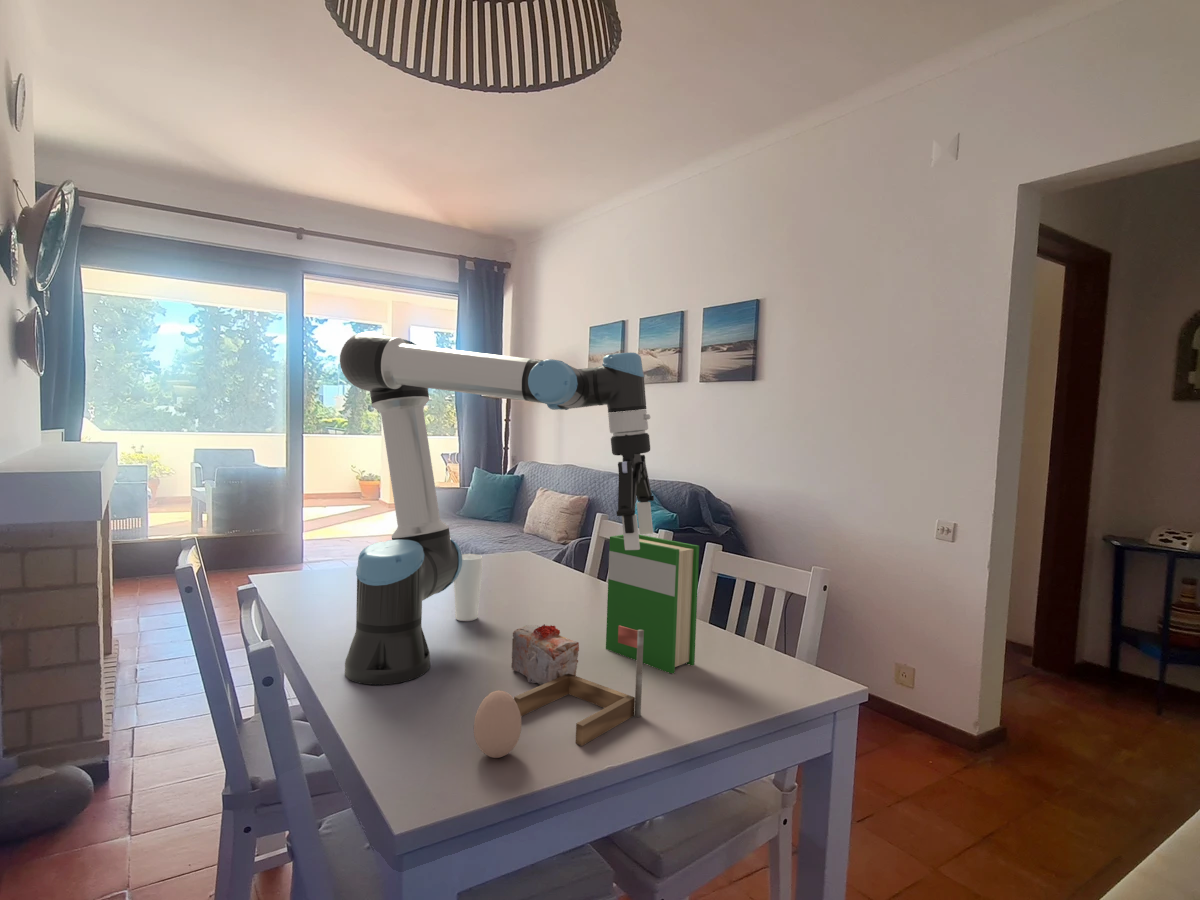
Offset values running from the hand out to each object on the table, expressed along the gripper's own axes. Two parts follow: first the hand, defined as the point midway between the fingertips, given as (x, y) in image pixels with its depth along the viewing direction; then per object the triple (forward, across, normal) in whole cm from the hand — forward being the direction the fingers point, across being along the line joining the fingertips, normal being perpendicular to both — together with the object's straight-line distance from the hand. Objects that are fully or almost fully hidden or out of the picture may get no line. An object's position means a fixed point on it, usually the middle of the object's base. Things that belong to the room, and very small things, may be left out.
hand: (639, 541), depth 121 cm
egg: (+21, -41, +14) cm, 48 cm away
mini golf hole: (+22, -26, +7) cm, 35 cm away
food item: (+22, -13, +18) cm, 31 cm away
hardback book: (+25, +4, +1) cm, 26 cm away
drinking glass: (+20, +14, +47) cm, 53 cm away
